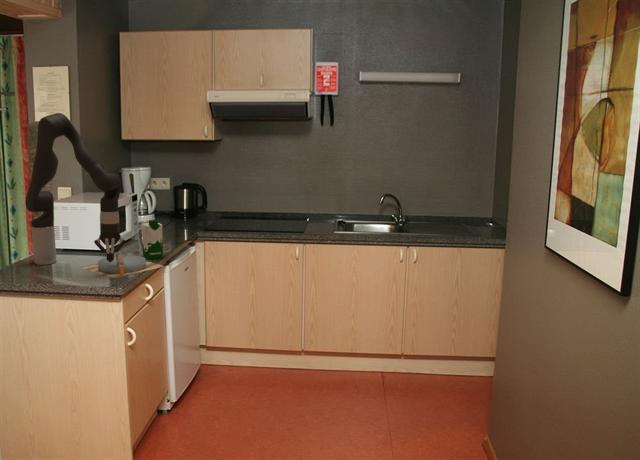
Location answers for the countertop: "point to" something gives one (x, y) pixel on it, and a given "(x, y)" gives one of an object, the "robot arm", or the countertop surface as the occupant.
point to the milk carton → (152, 240)
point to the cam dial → (128, 261)
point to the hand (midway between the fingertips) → (110, 261)
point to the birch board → (114, 275)
